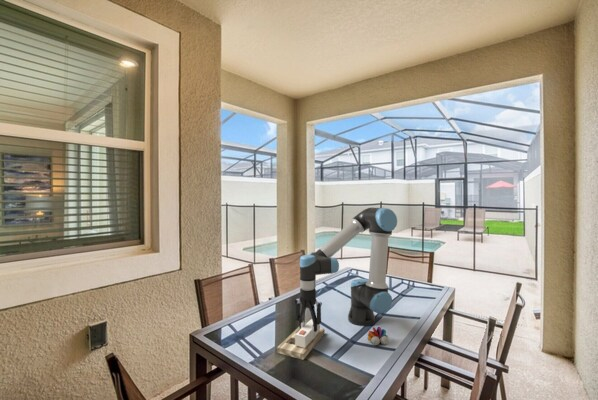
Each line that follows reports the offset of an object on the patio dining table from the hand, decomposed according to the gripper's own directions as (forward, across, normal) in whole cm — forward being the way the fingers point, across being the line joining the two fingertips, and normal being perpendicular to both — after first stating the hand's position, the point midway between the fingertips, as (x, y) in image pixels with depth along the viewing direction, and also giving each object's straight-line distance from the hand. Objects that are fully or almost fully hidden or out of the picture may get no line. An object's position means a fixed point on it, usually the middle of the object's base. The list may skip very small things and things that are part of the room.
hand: (308, 336), depth 133 cm
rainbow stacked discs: (+4, -30, -16) cm, 34 cm away
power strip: (+3, 0, 0) cm, 3 cm away
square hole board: (+4, +3, 0) cm, 5 cm away
